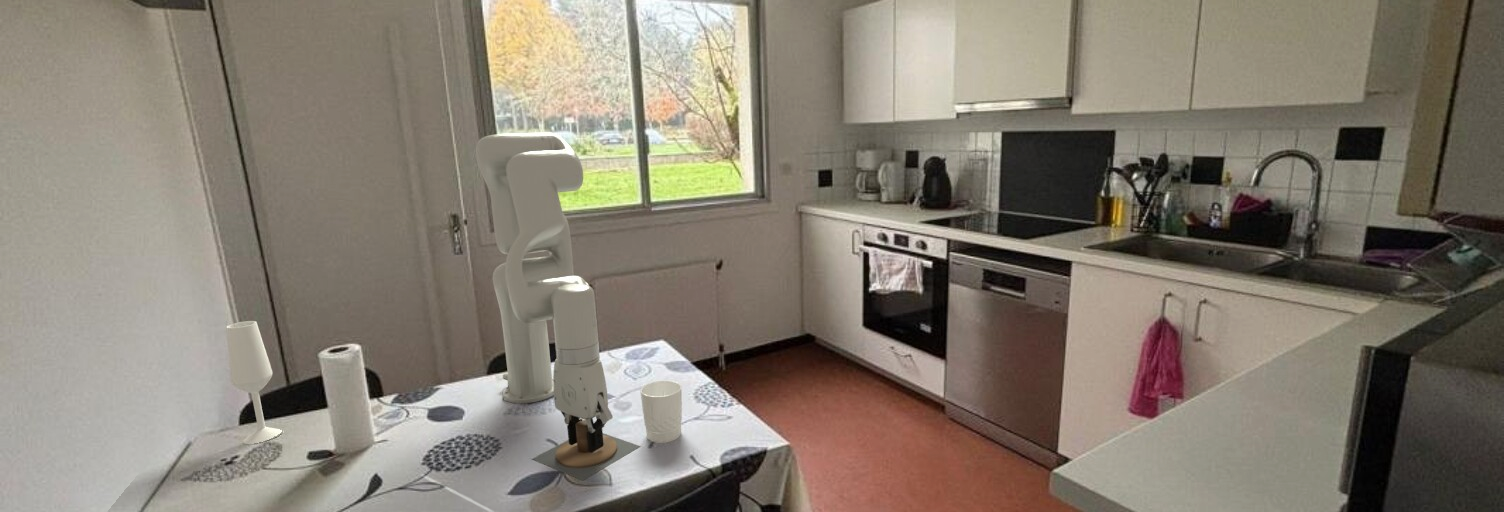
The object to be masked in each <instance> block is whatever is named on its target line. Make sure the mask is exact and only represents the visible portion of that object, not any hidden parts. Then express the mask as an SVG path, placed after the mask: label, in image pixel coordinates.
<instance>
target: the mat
mask: <svg viewBox="0 0 1504 512" xmlns="http://www.w3.org/2000/svg"><path fill="white" fill-rule="evenodd" d="M603 435H604V436H608V437H611V438H613V439H614V440H615V441H616V444H617V451H616V453H615V454H614V455H613V457H611V458H610V459H608V460H607V461H605V462H603V463H600V464H597V465H594V466H590V467H582V468H573V467H567V466H564V465H561V464H560V463H559V462H558V461H557V459H556V451H557V449H558V448H559V447H560V446H561V445H562V444H563V443H565V442H567V441H569V440H566V441H564V442H562V443H560V444H557V445H556V446H554V447H552V448H550V449H549V450H546V451H544V452H543V453H540V454H538V455H536V456H534V457H533V458H531V460H533V461H535V462H538V463H539V464H542V465H544V466H547V467H549V468H552V469H554V470H557V471H559V472H561V473H564V474H566V475H568V476H571V477H573V478H576V479H578V480H580V481H585V480H587V479H588V478H591V477H592V476H593V475H595V474H597V473H598V472H601V470H603V469H605V468H607V467H608V466H610V465H611V464H614V463H615V462H617V461H618V460H620V459H622V458H623V457H624V458H625V456H627V455H629V454H630V453H632V452H634V451H636V450H637V449H639V448H641V445H639V444H635V443H632V442H629V441H627V440H624V439H621V438H618V437H616V436H613V435H609V434H607V433H603Z"/></svg>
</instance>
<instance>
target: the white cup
mask: <svg viewBox="0 0 1504 512" xmlns="http://www.w3.org/2000/svg"><path fill="white" fill-rule="evenodd" d="M682 396H683V395H682V385H681V384H680V383H679V382H676V381H672V380H658V381H654V382H648V383H647V384H645V385H643V386H642V387H641V389H640V400H641V407H642V414H643V421H644V426H645V432H646V439H647V440H649V441H650V442H652V443H658V444H659V443H662V444H663V443H670V442H672V441H674V440H677V439H678V438H680V436H681V435H682V419H683V418H682V416H683V415H682V414H683V413H682V411H683V408H682V404H683V403H682V399H683V398H682Z"/></svg>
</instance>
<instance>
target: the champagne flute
mask: <svg viewBox="0 0 1504 512" xmlns="http://www.w3.org/2000/svg"><path fill="white" fill-rule="evenodd" d="M259 328H260V327H259V326H258V322H257V320H256V321H255V320H247V321H239V322H236V323H232V324H229V325H227V326H226V340H227V351H228V352H227V354H228V364H229V377H230V383H231V385H233V386H234V387H235V388H236V389H238V390H241V391H243V392H245V393H248V394H251V399H252V403H253V409H254V412H255V414H254V415H255V418H256V424H257V429H256V430H255V431H253V432H252V433H251V434H249V435H248V436H246V437H245V438H244V439H243V440H242V442H243V444H245V445H255V444H254V443H258V444H260V443H259V442H263V441H265V440H269V439H271V438H273V437H274V436H277V435H278V434H280V433H281V432H282V430H283V429H281V430H280V429H279V428H275V427H268V426H266V423H265V418H264V413H263V409H262V408H263V407H262V403H261V396H260V391H261V390H263V389H264V387H265V386H266V385H268V383H269V382H270V380H272V379H271V378H272V377H273V369H272V365H271V362H270V359H269V357H268V353H267V350H266V348H265V345H264V341H263V338H262V335H261V334H262V333H261V332H260V329H259ZM263 443H264V442H263Z"/></svg>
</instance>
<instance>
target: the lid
mask: <svg viewBox="0 0 1504 512" xmlns="http://www.w3.org/2000/svg"><path fill="white" fill-rule="evenodd" d="M588 431H589V429H588V425H587V421H586V419H582V421H579V422H577V423H576V436H577V443H576V444H574V445H570V444H569V441H568V440H566V441H567V442H566V441H564V442H565V443H564V442H562V443H563V444H562V443H561V444H562V445H561V446H560V447H559V448H558V449H557V451H556V459H557V461H558V462H559V463H560V464H561V465H564V466H567V467H573V468H582V467H590V466H594V465H597V464H600V463H603V462H605V461H607V460H608V459H610V458H611V457H613V455H614V454H615V453H616V451H617V444H616V441H615V440H614V439H613V438H611V437H608V436H604V435H603V444H604V445H603V447H601V448H599V449H598V450H596V451H594V452H592V453H591V452H589V451H588V443H587V432H588Z"/></svg>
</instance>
